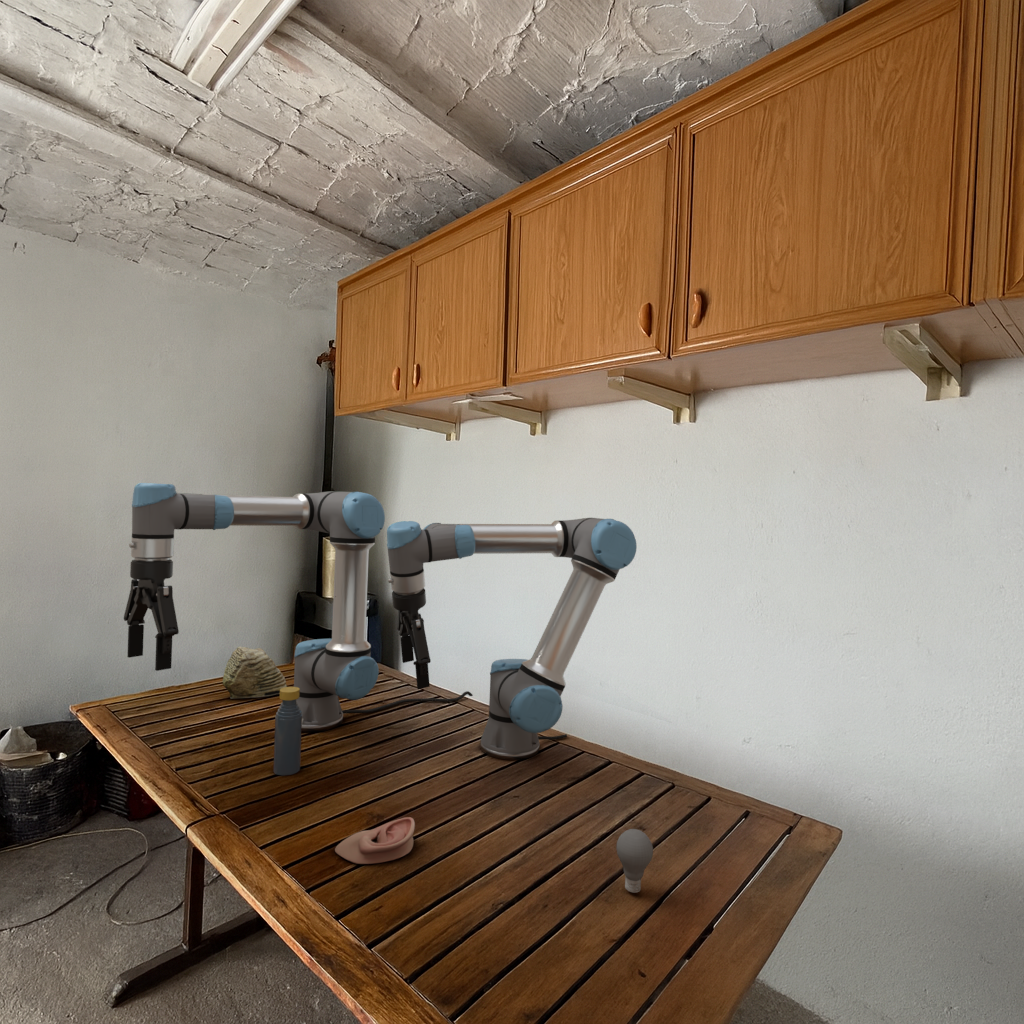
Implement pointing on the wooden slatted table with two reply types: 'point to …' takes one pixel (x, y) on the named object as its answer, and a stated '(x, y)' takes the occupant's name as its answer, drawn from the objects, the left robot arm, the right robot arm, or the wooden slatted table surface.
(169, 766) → the wooden slatted table surface
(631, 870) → the light bulb
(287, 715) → the bottle
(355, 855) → the anatomical model
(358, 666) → the left robot arm
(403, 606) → the right robot arm
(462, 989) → the wooden slatted table surface
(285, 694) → the cap
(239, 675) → the fossil
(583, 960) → the wooden slatted table surface
